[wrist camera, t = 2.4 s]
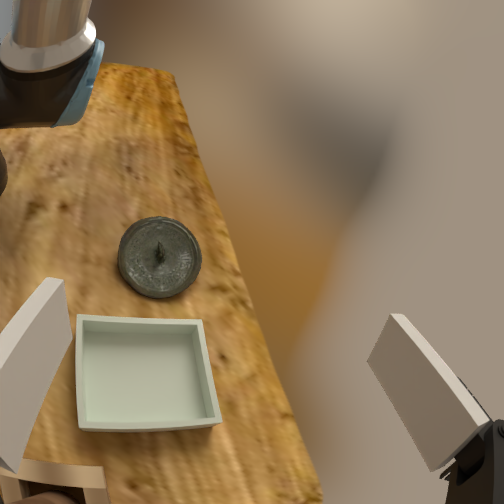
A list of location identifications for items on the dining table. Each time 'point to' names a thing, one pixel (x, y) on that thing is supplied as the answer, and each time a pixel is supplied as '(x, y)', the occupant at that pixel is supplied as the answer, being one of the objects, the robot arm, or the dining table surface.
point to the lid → (159, 257)
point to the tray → (143, 375)
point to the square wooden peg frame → (54, 480)
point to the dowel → (49, 498)
